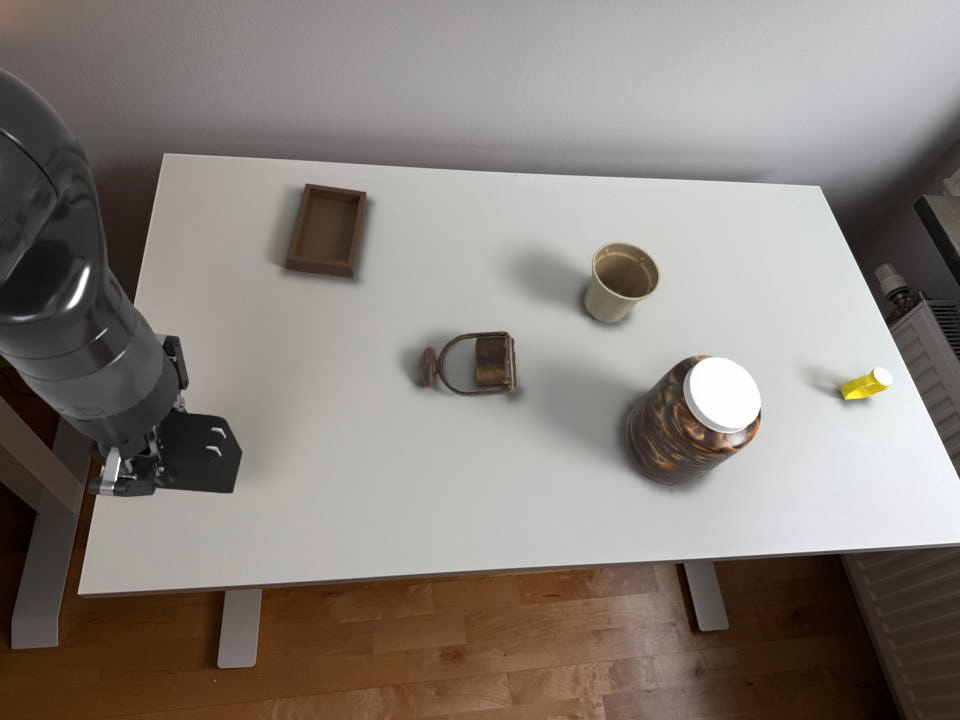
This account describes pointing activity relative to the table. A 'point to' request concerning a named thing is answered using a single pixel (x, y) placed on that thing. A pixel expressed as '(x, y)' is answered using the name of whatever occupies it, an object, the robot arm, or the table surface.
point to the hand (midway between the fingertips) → (171, 451)
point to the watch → (875, 380)
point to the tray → (327, 231)
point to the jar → (693, 419)
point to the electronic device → (196, 452)
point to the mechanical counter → (478, 363)
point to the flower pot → (620, 280)
